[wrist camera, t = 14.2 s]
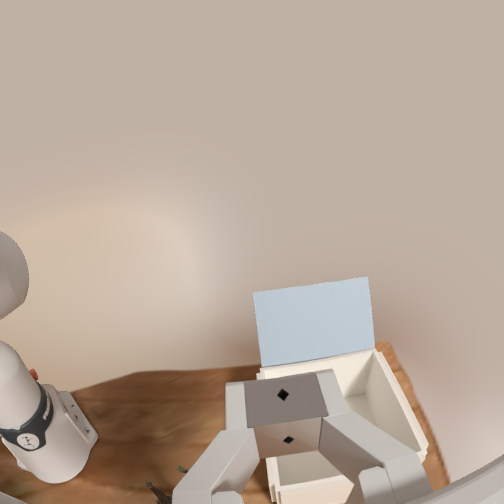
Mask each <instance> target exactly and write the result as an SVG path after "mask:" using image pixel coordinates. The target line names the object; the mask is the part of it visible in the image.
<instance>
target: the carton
mask: <svg viewBox="0 0 504 504" xmlns="http://www.w3.org/2000/svg"><path fill="white" fill-rule="evenodd" d="M331 368H332V369H333V370H334V373H335V376H336V378H337V381H338V384H339V386H340V389H341V392H342V395H343V398H344V400H345V403H346V406H347V409H348V412H350V411H355V412H356V413H358V414H359V415H360V416H362V417H363V418H365V419H366V420H368V421H369V422H371V423H372V424H374V425H375V426H377V427H378V428H380V429H381V430H383V431H384V432H386V433H387V434H389V435H390V436H392V437H393V438H395V439H396V440H398V441H400V442H401V443H403V444H404V445H406V446H407V447H409V448H411V449H412V450H414V451H415V452H417V454H418V457H419V459H420V461H421V464H422V462H423V461H424V460H425V458H426V457H425V456H426V454H427V453H428V452H427V450H426V448H427V447H428V445H429V444H428V442H427V440H426V438H425V435H424V433H423V431H422V429H421V427H420V425H419V423H418V421H417V419H416V417H415V415H414V413H413V411H412V409H411V407H410V405H409V403H408V401H407V399H406V397H405V395H404V393H403V391H402V390H401V388H400V386H399V384H398V382H397V380H396V378H395V376H394V374H393V372H392V371H391V369H390V367H389V365H388V363H387V361H386V359H385V358H384V356H383V354H382V352H377V350H376V348H374V349H370V350H365V351H360V352H356V353H351V354H346V355H340V356H335V357H330V358H324V359H318V360H312V361H306V362H300V363H293V364H287V365H280V366H272V367H264V368H260V373H256V375H257V380H261V379H271V378H279V377H283V376H289V375H296V374H302V373H307V372H315V371H320V370H325V369H331ZM318 451H319V450H317V451H311V452H304V453H297V454H290V455H284V456H277V457H270V458H266V464H267V473H268V481H269V488H270V493H271V499H272V502H276V501H277V504H343V503H345V502H346V500H347V498H348V496H349V494H350V492H351V490H352V488H353V486H354V484H353V483H352V482H351V481H350V480H349V479H347V478H346V477H345V476H344V475H343V474H342V473H341V472H340V471H339V470H338V469H336V468H335V467H334V466H333V465H332V464H331V463H330V462H329V461H328V460H327V459H326V458H325V457H324V456H323V455H322V454H321V453H319V452H318Z"/></svg>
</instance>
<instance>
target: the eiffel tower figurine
mask: <svg viewBox="0 0 504 504" xmlns="http://www.w3.org/2000/svg"><path fill="white" fill-rule="evenodd" d="M177 470H178V471H180V472H183V473H186V474H187V472H188V470H185V469H183V468H181V467H180V466H179V467H178V469H177ZM145 481H146V480H145ZM146 482H147V481H146ZM147 486H148V487H149V488H150V489H151V490H152V491H153V492H154V494H155V495H156V496H157V498H158V499H159V500H157V504H172V498H171V496H166V495H165V494H163V493H162V492H161V491H159V490H158V489H157V488H156V487H155V486H153V485H152V482H147Z"/></svg>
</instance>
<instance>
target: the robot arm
mask: <svg viewBox="0 0 504 504" xmlns="http://www.w3.org/2000/svg"><path fill="white" fill-rule="evenodd" d="M28 286H29V273H28V267H27V263H26V260H25V257H24V255H23V253H22V251H21V249H20V248H19V246H18V245H17V243H16V242H15V241H14V240H13V239H12V238H11V237H9V236H8V235H6V234H5V233H3V232H0V320H1V319H2V318H4V317H5V316H7V315H8V314H9V313H11V312H12V311H13V310H15V309H16V308H17V307H18V306H20V305H21V304H22V303H24V301H25V298H26V296H27V291H28ZM36 380H38V376H37V373H36V372H35V370H34V369H32V370H30V371H28V370H27V368H26V366H25V365H24V363H23V361H22V360H21V358H20V356H19V355H18V353H17V352H16V351H15V350H14V349H13V348H12V347H11V346H9V345H8V344H6V343H5V342H2V341H0V435H1V436H2V441H3V443H4V444H5V445H6V446H7V448H8V449H9V450H10V451H11V452H12V453H13V455H14V456H15V457H16V458H17V464H18V465H19V466H20V468H22V469H24V470H26V471H30V472H32V473H33V474H34V475H35V476H36V477H37V478H39V479H40V480H42V481H45V482H48V483H62V482H65V481H68V480H70V479H72V478H73V477H75V476H76V475H77V474H78V473H79V472H80V471H81V470H82V469H83V467H84V466H85V464H86V462H87V460H88V456H89V453H90V450H91V448H92V446H93V445H94V444H95V443H96V441H97V439H98V434H97V432H96V431H95V429H94V428H93V427H92V425H91V424H90V422H89V421H88V419H87V418H86V417H85V415H84V414H83V412H82V411H81V409H80V407H79V406H78V404H77V403H76V401H75V400H74V398H73V397H72V395H71V394H70V393H69V392H67V391H61V392H57V390H56V389H55V387H54V386H52V385H49V384H43V385H40V384H39V383H38V382H37V381H36ZM225 422H226V430H220V431H219V433H218V434H217V435H216V437H215V438H214V439H213V441H212V442H211V443H210V445H209V446H208V447H207V448H206V450H205V451H204V452H203V454H202V455H201V456H200V457H199V459H198V460H197V461H196V462H195V464H194V465H193V466H192V467H191V469H190V470H189V471H188V472H187V474H186V475H185V476H184V477H183V479H182V480H181V481H180V482H179V483H178V485H177V486H176V487H175V488H174V489H173V496H172V504H244V502H243V500H242V497H241V493H242V491H243V489H244V488H245V486H246V484H247V483H248V481H249V479H250V477H251V476H252V474H253V472H254V470H255V468H256V467H257V465H258V463H259V461H260V459H263V458H270V457H277V456H284V455H290V454H297V453H304V452H311V451H317V450H319V451H318V452H319V453H321V454H322V455H323V456H324V457H325V458H326V459H327V460H328V461H329V462H330V463H331V464H332V465H333V466H334V467H335V468H336V469H338V470H339V471H340V472H341V473H342V474H343V475H344V476H345V477H346V478H347V479H349V480H350V481H351V482H352V483H353V484H354V486H353V488H352V490H351V492H350V494H349V496H348V498H347V500H346V502H345V504H504V454H503V455H502V456H500V457H499V458H497V459H495V460H494V461H492V462H490V463H489V464H487V465H485V466H483V467H482V468H480V469H478V470H476V471H474V472H473V473H471V474H469V475H467V476H465V477H463V478H461V479H459V480H457V481H455V482H453V483H451V484H449V485H447V486H445V487H443V488H440V489H438V490H436V491H434V492H433V490H432V488H431V485H430V483H429V480H428V478H427V476H426V473H425V471H424V468H423V466H422V464H421V461H420V459H419V457H418V454H417V452H415V451H414V450H412V449H411V448H409V447H407V446H406V445H404V444H403V443H401V442H400V441H398V440H396V439H395V438H393V437H392V436H390V435H389V434H387V433H386V432H384V431H383V430H381V429H380V428H378V427H377V426H375V425H374V424H372V423H371V422H369V421H368V420H366V419H365V418H363V417H362V416H360V415H359V414H358V413H356V412H355V411H350V412H348V409H347V406H346V403H345V400H344V398H343V395H342V392H341V389H340V386H339V384H338V381H337V378H336V376H335V373H334V370H333V369H332V368H331V369H325V370H320V371H315V372H307V373H302V374H296V375H289V376H283V377H279V378H271V379H261V380H250V381H240V382H228V383H226V386H225ZM89 431H90V432H89ZM88 432H89V433H88ZM0 504H28V503H26V502H23V501H21V500H18V499H16V498H13V497H11V496H9V495H6V494H4V493H2V492H0Z"/></svg>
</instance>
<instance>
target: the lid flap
mask: <svg viewBox="0 0 504 504" xmlns="http://www.w3.org/2000/svg"><path fill="white" fill-rule="evenodd" d="M253 300H254V308H255V316H256V324H257V332H258V341H259V348H260V356H261V365H262V367H265V366H273V365H281V364H288V363H294V362H301V361H307V360H313V359H319V358H325V357H331V356H336V355H341V354H346V353H351V352H356V351H361V350H366V349H371V348H375V343H374V331H373V320H372V310H371V300H370V292H369V283H368V277H362V278H355V279H349V280H343V281H335V282H328V283H321V284H314V285H307V286H300V287H292V288H284V289H277V290H269V291H261V292H253Z"/></svg>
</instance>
